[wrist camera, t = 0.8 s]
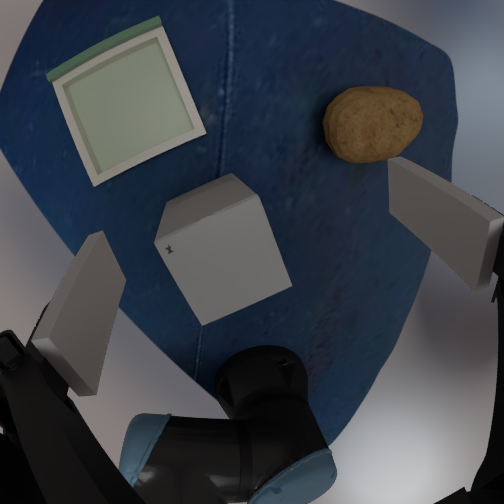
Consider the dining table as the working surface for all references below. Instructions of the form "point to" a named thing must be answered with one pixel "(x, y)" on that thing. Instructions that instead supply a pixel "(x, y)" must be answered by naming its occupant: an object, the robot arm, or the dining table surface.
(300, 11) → the dining table surface
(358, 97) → the potato
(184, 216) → the supplement box
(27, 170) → the dining table surface
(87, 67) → the shallow square tray
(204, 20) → the dining table surface
